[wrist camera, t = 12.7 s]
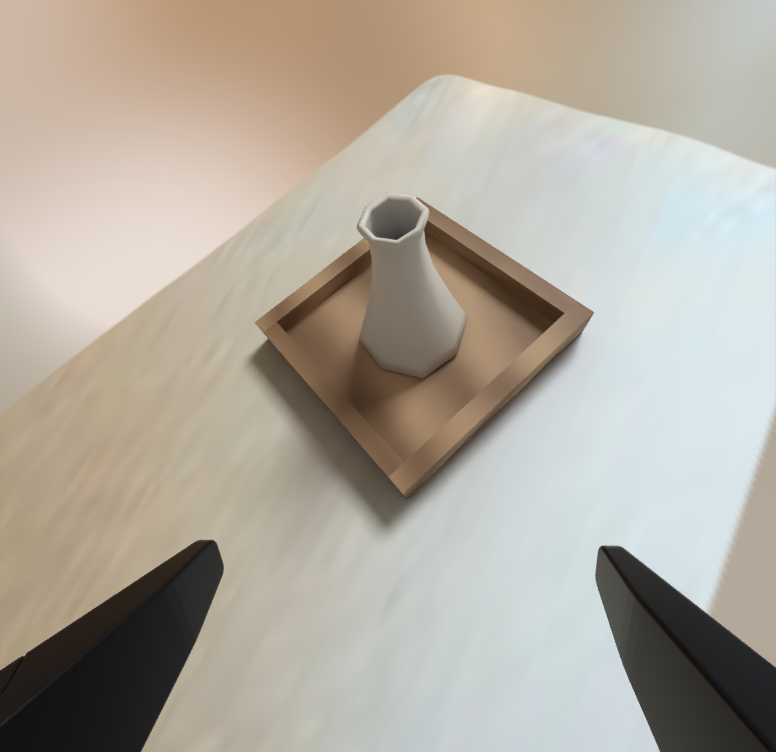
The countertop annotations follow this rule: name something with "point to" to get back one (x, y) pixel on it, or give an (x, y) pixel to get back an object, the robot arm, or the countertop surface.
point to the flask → (406, 292)
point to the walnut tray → (450, 380)
